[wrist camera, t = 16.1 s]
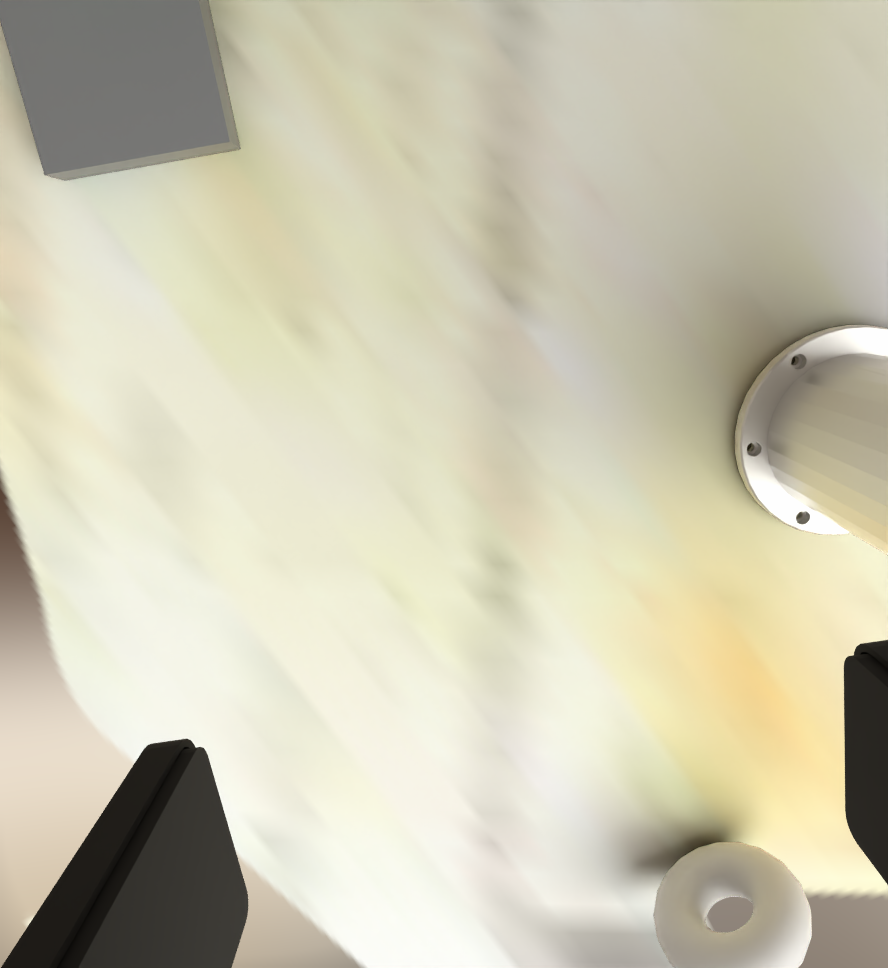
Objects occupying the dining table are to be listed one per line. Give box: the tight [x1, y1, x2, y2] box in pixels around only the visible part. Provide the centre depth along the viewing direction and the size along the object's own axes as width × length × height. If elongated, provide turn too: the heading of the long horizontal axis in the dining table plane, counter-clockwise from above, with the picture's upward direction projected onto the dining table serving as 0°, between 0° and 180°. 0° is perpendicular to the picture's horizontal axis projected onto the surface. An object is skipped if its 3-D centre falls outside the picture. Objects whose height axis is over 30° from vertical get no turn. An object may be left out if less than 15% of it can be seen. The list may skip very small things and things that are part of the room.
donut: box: [654, 842, 812, 968], centre depth 46 cm, size 10×4×10 cm, turn 118°
